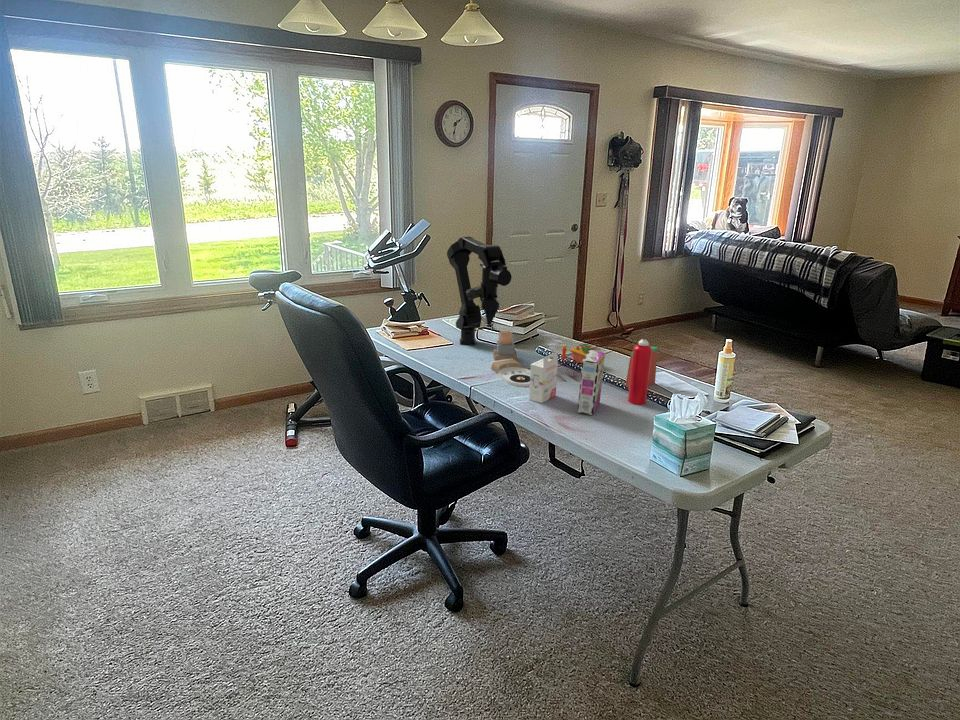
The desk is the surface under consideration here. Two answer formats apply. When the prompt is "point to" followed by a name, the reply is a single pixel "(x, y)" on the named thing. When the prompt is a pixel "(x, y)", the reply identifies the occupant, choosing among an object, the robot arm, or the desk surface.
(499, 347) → the slate block
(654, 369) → the toy building block set
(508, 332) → the clay cylinder
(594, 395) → the candy bar box
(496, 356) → the walnut block
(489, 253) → the robot arm
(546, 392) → the ink cartridge box
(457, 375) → the desk surface
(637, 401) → the bottle
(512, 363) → the record player
